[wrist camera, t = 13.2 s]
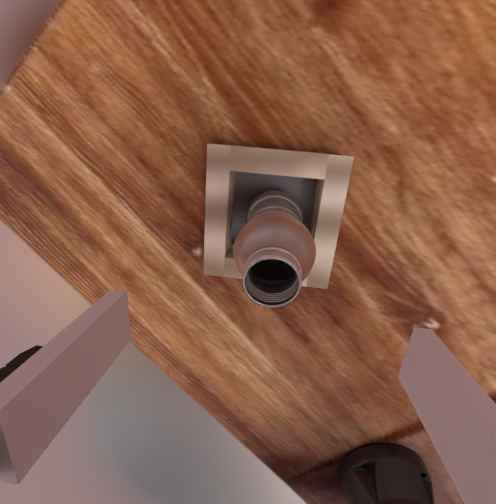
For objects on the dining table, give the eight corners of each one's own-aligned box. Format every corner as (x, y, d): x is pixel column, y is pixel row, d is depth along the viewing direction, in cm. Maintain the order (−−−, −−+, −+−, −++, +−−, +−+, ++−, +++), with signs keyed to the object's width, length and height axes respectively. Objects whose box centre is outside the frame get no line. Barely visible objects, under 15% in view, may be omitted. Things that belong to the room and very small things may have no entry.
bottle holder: (320, 268, 40) (327, 289, 34) (213, 256, 41) (203, 274, 35) (341, 154, 34) (354, 156, 29) (218, 143, 35) (207, 143, 30)
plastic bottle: (248, 186, 36) (216, 231, 17) (303, 188, 35) (332, 236, 16) (248, 236, 38) (218, 323, 19) (299, 238, 37) (320, 330, 19)
